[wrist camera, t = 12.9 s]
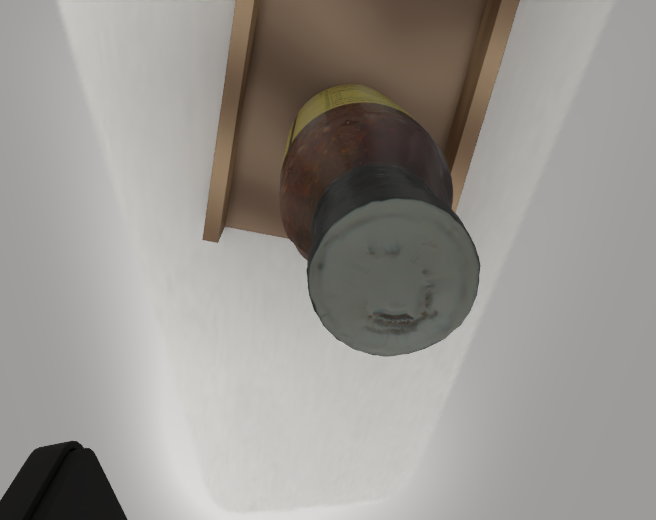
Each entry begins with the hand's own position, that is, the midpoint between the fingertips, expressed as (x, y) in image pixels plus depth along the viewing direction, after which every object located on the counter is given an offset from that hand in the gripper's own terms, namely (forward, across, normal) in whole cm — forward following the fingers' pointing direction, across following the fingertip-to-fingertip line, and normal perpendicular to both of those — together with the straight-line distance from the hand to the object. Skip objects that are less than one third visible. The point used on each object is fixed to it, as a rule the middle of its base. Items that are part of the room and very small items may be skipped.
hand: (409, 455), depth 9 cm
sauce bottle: (+25, 0, +1) cm, 25 cm away
